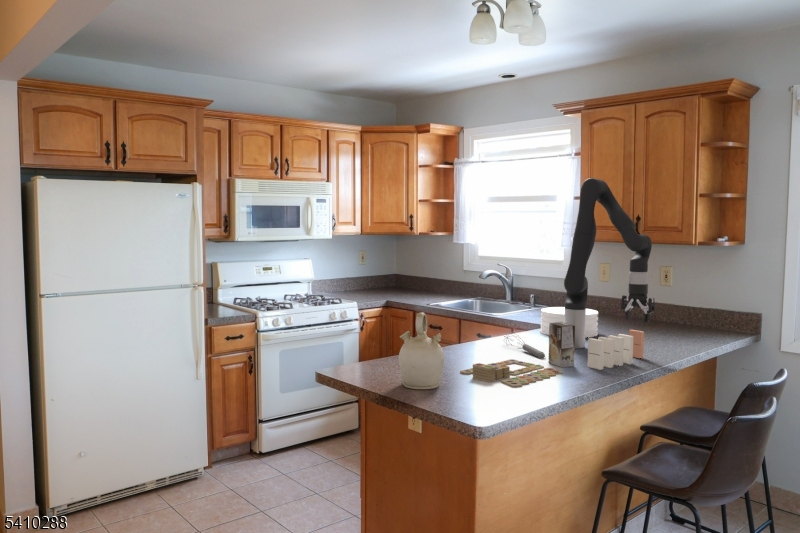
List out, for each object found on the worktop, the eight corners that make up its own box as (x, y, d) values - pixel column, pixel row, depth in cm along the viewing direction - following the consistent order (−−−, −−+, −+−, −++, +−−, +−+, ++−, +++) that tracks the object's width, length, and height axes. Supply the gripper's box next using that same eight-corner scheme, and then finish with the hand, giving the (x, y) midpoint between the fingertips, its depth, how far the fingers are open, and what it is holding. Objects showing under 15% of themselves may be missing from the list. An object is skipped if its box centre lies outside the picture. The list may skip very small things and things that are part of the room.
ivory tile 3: (610, 367, 246) (611, 339, 245) (597, 364, 251) (598, 337, 250) (613, 367, 247) (614, 339, 246) (600, 364, 252) (601, 336, 251)
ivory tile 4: (600, 369, 242) (601, 341, 242) (587, 366, 247) (588, 338, 246) (603, 369, 243) (604, 340, 243) (590, 366, 248) (591, 338, 248)
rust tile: (640, 358, 263) (641, 332, 262) (628, 355, 268) (629, 330, 267) (643, 358, 264) (644, 331, 263) (630, 355, 269) (631, 329, 268)
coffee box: (575, 366, 248) (576, 325, 246) (561, 367, 245) (562, 326, 244) (561, 361, 256) (562, 321, 255) (547, 362, 254) (548, 322, 253)
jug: (389, 386, 214) (390, 313, 213) (414, 377, 227) (415, 308, 225) (428, 394, 206) (429, 317, 204) (452, 384, 219) (453, 311, 217)
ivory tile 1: (629, 364, 253) (630, 336, 252) (616, 361, 257) (617, 334, 257) (632, 363, 254) (633, 336, 253) (619, 360, 258) (620, 333, 258)
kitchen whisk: (538, 360, 258) (539, 345, 258) (500, 345, 290) (500, 331, 290) (552, 359, 260) (552, 344, 260) (512, 344, 292) (513, 331, 292)
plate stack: (589, 340, 304) (589, 316, 303) (532, 334, 318) (533, 311, 318) (603, 332, 328) (604, 309, 327) (550, 326, 342) (551, 305, 341)
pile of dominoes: (515, 390, 214) (515, 373, 213) (454, 375, 233) (454, 360, 233) (570, 373, 238) (570, 359, 237) (510, 361, 257) (511, 348, 257)
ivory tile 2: (620, 365, 249) (621, 338, 248) (607, 363, 254) (608, 335, 253) (623, 365, 250) (623, 337, 249) (610, 362, 255) (611, 335, 254)
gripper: (659, 283, 260) (658, 322, 261) (628, 280, 272) (628, 318, 273) (648, 284, 256) (647, 324, 257) (617, 281, 268) (617, 320, 269)
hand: (637, 321), depth 265 cm, fingers open, 8 cm apart
